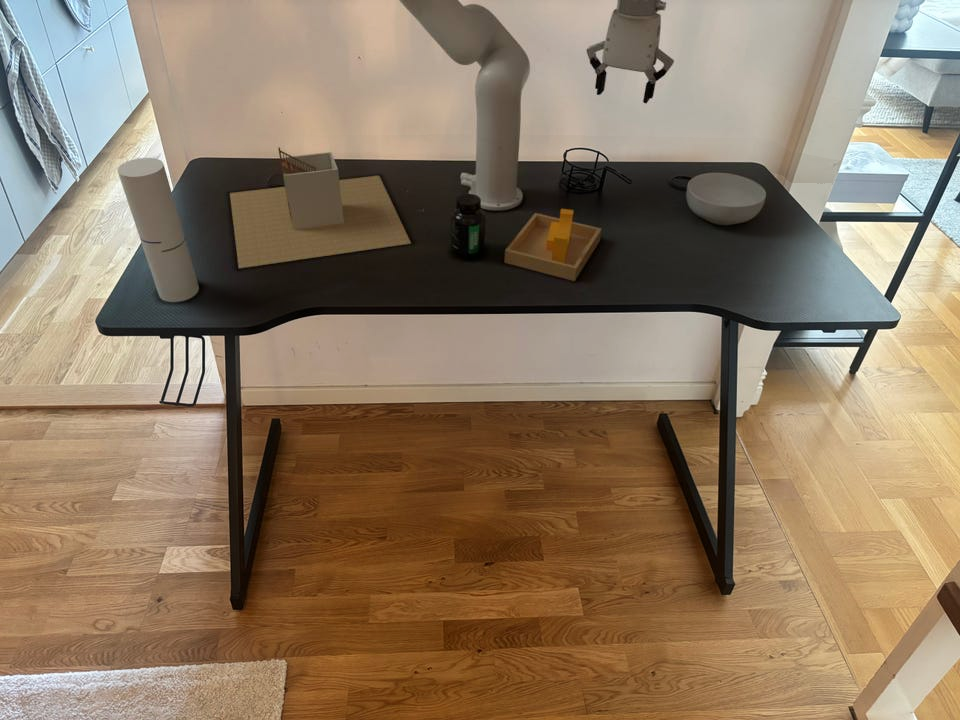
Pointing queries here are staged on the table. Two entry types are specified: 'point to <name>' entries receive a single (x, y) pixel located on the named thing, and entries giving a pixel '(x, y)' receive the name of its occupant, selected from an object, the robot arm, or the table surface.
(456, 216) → the supplement bottle
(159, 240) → the cylindrical container
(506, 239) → the table surface
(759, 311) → the table surface
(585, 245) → the tray
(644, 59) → the robot arm
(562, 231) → the yellow stepped block
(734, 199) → the cereal bowl
